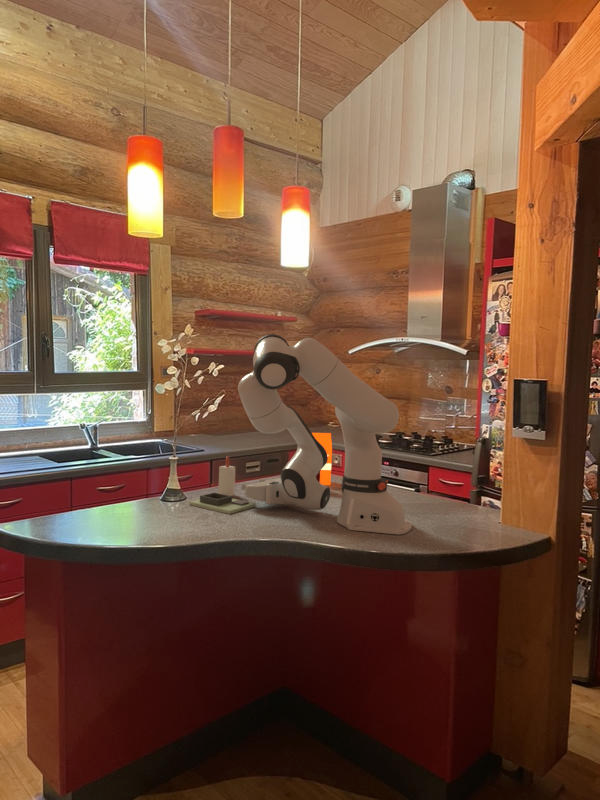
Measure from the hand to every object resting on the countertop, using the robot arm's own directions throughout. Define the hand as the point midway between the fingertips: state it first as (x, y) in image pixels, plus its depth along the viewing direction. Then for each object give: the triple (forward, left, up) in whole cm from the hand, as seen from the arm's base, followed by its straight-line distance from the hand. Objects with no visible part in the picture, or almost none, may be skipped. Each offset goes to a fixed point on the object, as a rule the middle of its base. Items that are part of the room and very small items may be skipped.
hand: (251, 484), depth 205 cm
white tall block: (+11, -2, -6) cm, 12 cm away
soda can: (-11, -27, -6) cm, 30 cm away
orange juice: (-9, -40, -6) cm, 42 cm away
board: (+4, +12, -6) cm, 14 cm away
